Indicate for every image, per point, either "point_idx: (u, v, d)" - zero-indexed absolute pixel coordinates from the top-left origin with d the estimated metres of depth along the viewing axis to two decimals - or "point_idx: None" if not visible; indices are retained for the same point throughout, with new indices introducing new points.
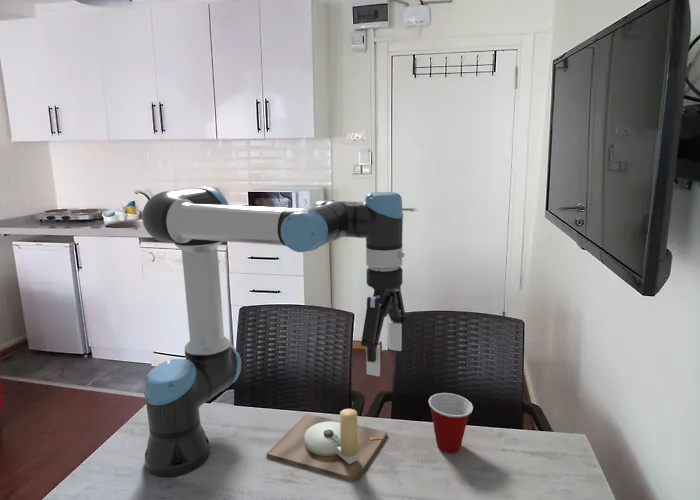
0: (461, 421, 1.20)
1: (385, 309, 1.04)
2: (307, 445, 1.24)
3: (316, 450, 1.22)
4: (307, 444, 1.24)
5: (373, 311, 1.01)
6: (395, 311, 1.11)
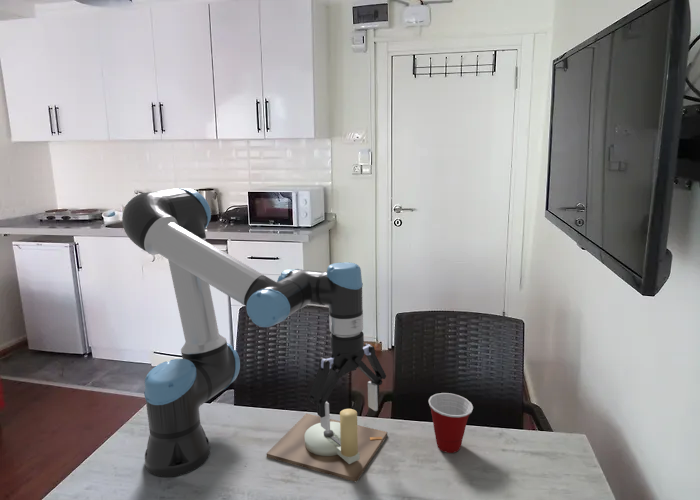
0: (461, 421, 1.20)
1: (339, 371, 1.12)
2: (307, 445, 1.24)
3: (316, 450, 1.22)
4: (307, 444, 1.24)
5: (321, 372, 1.10)
6: (365, 373, 1.17)
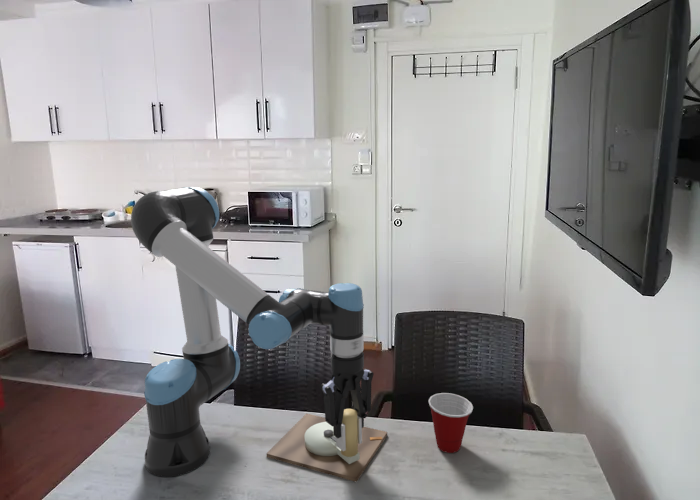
0: (461, 421, 1.20)
1: (343, 393, 1.14)
2: (307, 445, 1.24)
3: (316, 450, 1.22)
4: (307, 444, 1.24)
5: (327, 397, 1.13)
6: (356, 399, 1.17)
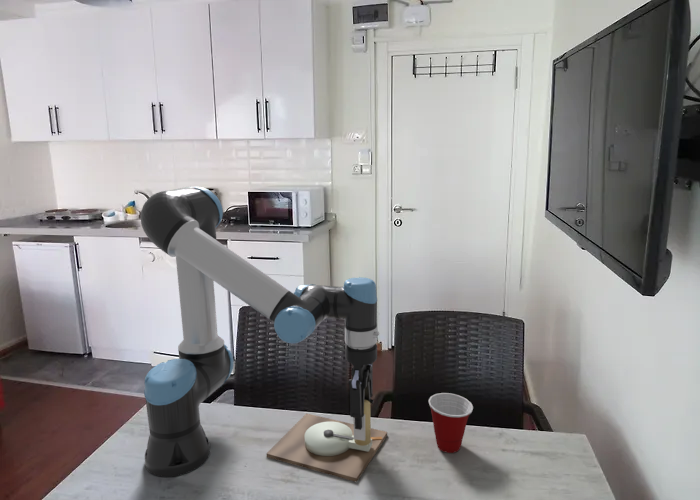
0: (461, 421, 1.20)
1: (364, 384, 1.18)
2: (318, 450, 1.22)
3: (331, 451, 1.21)
4: (318, 449, 1.22)
5: (356, 391, 1.15)
6: (366, 387, 1.23)
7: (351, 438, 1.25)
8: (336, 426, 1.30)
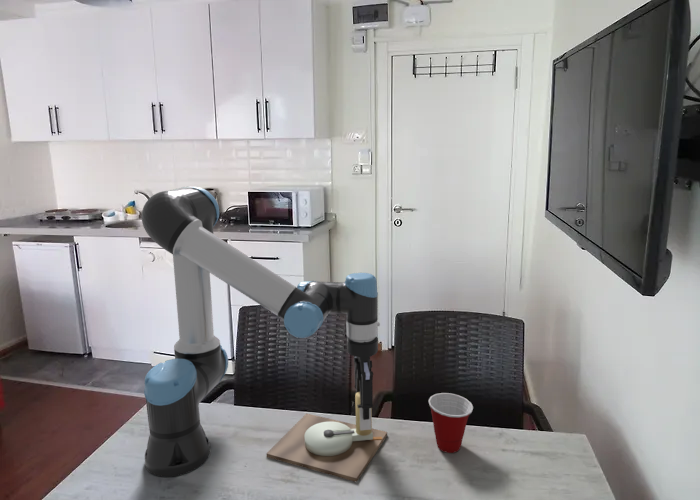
0: (461, 421, 1.20)
1: None
2: (329, 451, 1.21)
3: (342, 448, 1.22)
4: (329, 450, 1.21)
5: (368, 382, 1.19)
6: None
7: (352, 431, 1.27)
8: (329, 425, 1.31)
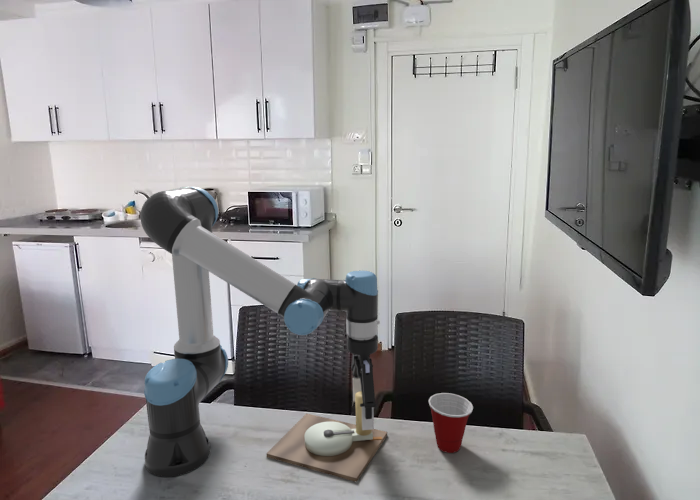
0: (461, 421, 1.20)
1: None
2: (329, 451, 1.21)
3: (342, 448, 1.22)
4: (329, 450, 1.21)
5: (369, 376, 1.17)
6: None
7: (352, 431, 1.28)
8: (329, 425, 1.31)
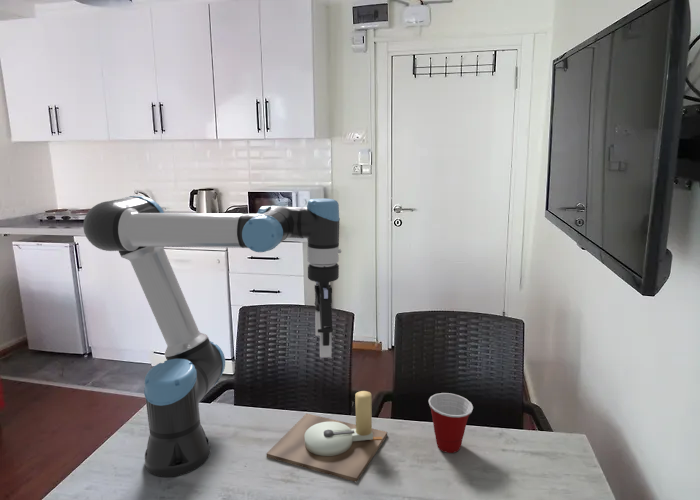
0: (461, 421, 1.20)
1: (330, 299, 1.21)
2: (329, 451, 1.21)
3: (342, 448, 1.22)
4: (329, 450, 1.21)
5: (327, 301, 1.17)
6: None
7: (352, 431, 1.28)
8: (329, 425, 1.31)
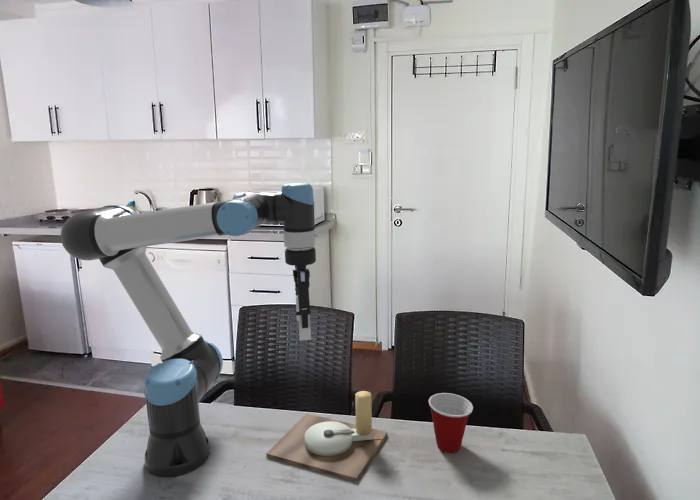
0: (461, 421, 1.20)
1: (308, 282, 1.22)
2: (329, 451, 1.21)
3: (342, 448, 1.22)
4: (329, 450, 1.21)
5: (304, 284, 1.18)
6: None
7: (352, 431, 1.28)
8: (329, 425, 1.31)
